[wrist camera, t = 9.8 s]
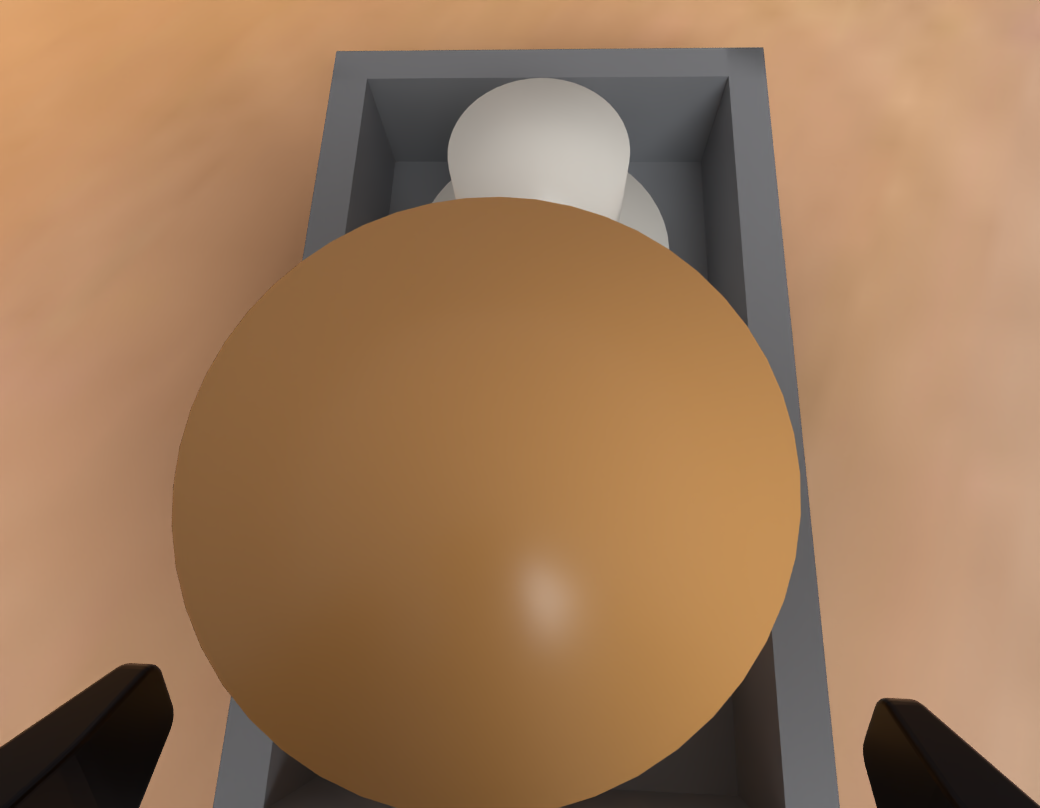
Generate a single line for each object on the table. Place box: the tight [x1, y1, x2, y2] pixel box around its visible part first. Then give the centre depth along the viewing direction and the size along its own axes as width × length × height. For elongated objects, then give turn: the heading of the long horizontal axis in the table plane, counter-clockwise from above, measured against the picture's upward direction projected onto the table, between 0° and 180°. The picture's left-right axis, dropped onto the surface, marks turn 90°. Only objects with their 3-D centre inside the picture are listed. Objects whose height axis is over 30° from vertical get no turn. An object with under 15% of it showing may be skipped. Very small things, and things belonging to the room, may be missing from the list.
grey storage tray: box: [213, 48, 840, 808], centre depth 16 cm, size 20×12×7 cm, turn 178°
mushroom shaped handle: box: [172, 197, 801, 808], centre depth 11 cm, size 7×7×13 cm
